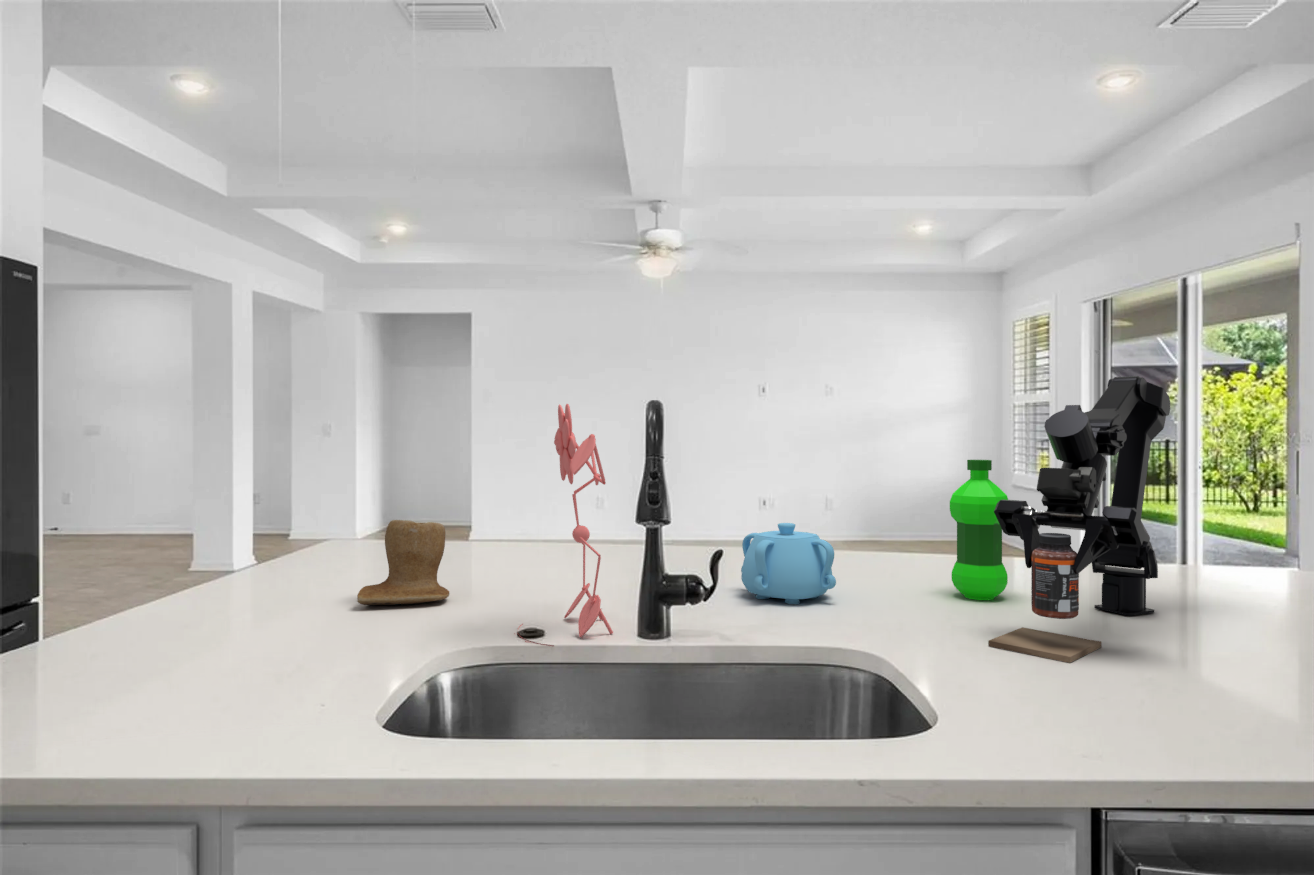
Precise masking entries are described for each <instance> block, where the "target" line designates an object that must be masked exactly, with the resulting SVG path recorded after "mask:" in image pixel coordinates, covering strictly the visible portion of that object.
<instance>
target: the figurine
mask: <svg viewBox="0 0 1314 875" xmlns="http://www.w3.org/2000/svg"><path fill="white" fill-rule="evenodd" d="M557 417H558V418H557V420H558V428H557V430H556V432H555V435H554V441H553V444H554V446H555V449H556V453H557V454H558V456H559V469H560V470H559V471H560V472H559V473H560V478H561V480H562V481H563V482H564V481H565V480H566V478H568V483H569V484H570V485H573V483H574V476H575V475H576V474H577V473H578V472H579V471H580V470H582V468H583V467H584V466H585V465H586V466H587V467H588V469H589V470H590V472H591V473H592V474H593V477H592V479H590V480H588V481H587V482H585V483H584V484H582V485H581V486H579V487H578V488H577V489H575V490H573V493H572V494H571V496H572V501H573V508H574V514H575V520H576V521H575V522H576V526H575V527H574V529H573V530H572V533H571V534H572V538H573V540H574V541H575V542H576V543H578V544H581V545H582V587H581V591H580V592H579V594H577V596H576V598H575V599H574V600H573V602H572V604H571V605H570V607H569V608H568V610H567V611H566V613H565V615H564V617H563V618H564V619H566V618H568V616H570V615H571V613H573V611H574V610H575V609H576V607H577V606H578V605H579V604H580V601H581V600H582V599H583V597H584V596H585V595H586V596H587V597H588V600H587V601H586V602H585V604H584V605H583V607H582V608H581V611H580V613H579V617H578V622H577V623H578V625H577V626H578V635H579V638H583V636H584V635H586V633H587V632H588V631H589V630H590V629H591V628H592V627H593V625H594V624H595V623H596V621H597V619H598V617H599V620H600V621H602V622H603V623H604V625H605V627H606V629H607V631H608V632H609V635H612V634H614V631H613V629H612V627H611V625H610V623H609V622H608V620H607V618H606V616H605V614H604V613H603V611H602V608H601V605H602V604H601V602H602V599H601V598H600V596H599V594H596V589H597V584H598V577H599V571H600V565H601V561H602V560H601V559H602V557H601V554H600V553H599V552H598V551H597V550H596V549H594V548H593V546H591V545H590V543H588V542H587V541H588V540H589V539H590V535H591V534H590V533H591V532H590V530H589V528H588V527H586V526H585V525H582V524H581V525H580V522H579V521H580V520H579V514H578V513H579V512H578V504H577V496H576V495H577V494H578V493H579V492H581V491H582V490H584V489H585V488H586V487H588V486H589V485H591V484H592V483H593V482H595V486H598V485H599V483H601V484H602V485H606V484H607V483H606V477H605V474H604V470H603V466H602V462H601V460H600V454H599V451H598V448H597V444H596V442H597V440H596V435H595V434H594V433H590V434H589V436H588V437H586V438H585V439H584V440H583V441H582V442H581V444H580V445H579V444H578V443H577V439H576V435H575V434H574V432H573V423H572V422H573V419H572V418H573V417H572V411H571V406H570V405H569V403H566V404H565V407H564V408H563V406H562V405H561V404H559V403H558V407H557ZM590 458H591V463H592V464H591V463H590V461H589V459H590ZM596 463H597V464H596ZM596 465H597V466H596ZM597 468H598V471H599V472H598V471H597ZM586 546H587V547H588V549H590V550H591V551H592V552H593V553H594V554H595V555H596V556H597V563H596V569H595V570H596V571H595V576H594V577H595V578H594V586H593V591H592V594H591V593H590V591H589V588H590V586H591V583H590V582H587V583H586ZM521 626H524V623H522V624H520V625H519V626H518V628H517V635H518V637H520V639H522V640H525V641H524V643H530V644H532V643H533V644H536V645H542V646H548V647H555V645H553V644H545V643H540V642H535V641H532V640H528V639H527V638H524V637H522V636H521V635H520V634H519V633H518V630H519V628H521ZM513 634H514V635H516V633H515V632H513Z"/></svg>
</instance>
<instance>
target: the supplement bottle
mask: <svg viewBox="0 0 1314 875" xmlns="http://www.w3.org/2000/svg"><path fill="white" fill-rule="evenodd" d="M1039 543H1040V546H1039V547H1038V548H1036V549H1034V550H1033V552H1032V562H1031V564H1032V566H1031V568H1030V569H1031V571H1030V572H1031V586H1030V588H1031V592H1030V593H1031V595H1030V596H1031V597H1030V598H1031V600H1030V601H1031V611H1032V613H1034V614H1035V615H1038V616H1039V617H1042V618H1043V617H1044V618H1047V619H1048V618H1049V619H1059V620H1070V619H1074V618H1076V617H1077V616H1079V610H1080V608H1079V606H1080V597H1079V596H1080V593H1079V592H1080V588H1079V586H1080V584H1079V583H1080V579H1079V578H1080V573H1078V574H1075V573H1074V571H1073V567H1074V562H1075V559H1076V556H1077V553H1078V552H1077V551H1075V550H1074V549H1073V548H1072V546H1071V545H1072V536H1071V535H1070V534H1067V533H1059V532H1057V533H1056V532H1041V533H1039Z"/></svg>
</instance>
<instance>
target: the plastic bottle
mask: <svg viewBox="0 0 1314 875" xmlns="http://www.w3.org/2000/svg"><path fill="white" fill-rule="evenodd" d="M992 462H993V460H992V459H967V461H966V465H967V467H966V468H967V471H969V472H970V475H969V476H970V477H969V479H968V480H967V481H966V482H964V483H963V484H962V485H960V486H959V487H957V489H956V490H955V491H954V492H953V493H952V495H951V498H950V500H949V512H950V516H951V517H952V519H954V521H955V522H956V560H955V562H954V565H953V567H952V570H951V581H952V584H953V586H954V588H955V589H956V590H957V591H958V592H959V593H960V594H961V595H964V596H963V597H964V598H966V599H969V600H975V601H993V600H995V598H996V597H998V596H999V595H1000V594H1002V593H1003V592H1004V591H1005V590H1006V587H1007V585H1008V583H1009V582H1008V578H1009V577H1008V572H1007V570H1006V566H1005V565H1004V563H1003V530H1002V528H1001V526H1000V524H999V522H998V520H997V517H996V515H995V513H994V510H995V507H996V505H997V503H998V502H999V501H1000V500H1009V498H1008V495H1007V494H1006V493H1005V492H1004V490H1002V489H1001V488H1000V487H999V486H998V485H997V484H995V483H994V482H993V481H992V480H991V479H990V478H989V471H992V468H993V467H992V465H993V464H992Z"/></svg>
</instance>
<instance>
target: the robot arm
mask: <svg viewBox="0 0 1314 875" xmlns="http://www.w3.org/2000/svg"><path fill="white" fill-rule="evenodd" d="M1170 412H1171V398H1170V397H1169V394H1168V393H1167V392H1166V390H1165V389H1164V388H1163V387H1161V386H1159V385H1157V384H1153V383H1151V382H1148V381H1147V380H1146V379H1145V377H1143V376H1142V377H1141V376H1140V375H1135V376H1134V375H1133V376H1132V375H1131V376H1129V375H1128V376H1114V377H1113V378H1109V379H1108V382H1107V388H1106V390H1104V392H1103V393H1102V395H1101V396H1100V397H1099V399H1098V401H1097V402H1096V403H1095V404H1094V405H1093V407H1092V408H1091V409H1090V410H1089V411H1088V410H1087V411H1086V412H1084V411H1083V409H1082V407H1081V405H1080V404H1069V405H1068V404H1065V406H1064V409H1063V410H1060V411H1057V412H1055V413H1054V414H1052V415H1051V416H1050V417H1048V418H1046V420H1045V422H1044V430H1045V433H1046V435H1047V437H1048V440H1049V442H1050V446H1051V449H1052V450H1053V454H1054V456H1055V459H1057V460H1058V461H1061V462H1062V465H1061V467H1060V468H1059V467H1058V468H1057V467H1041V468H1039V473H1038V478H1037V484H1036V491H1037V492H1039V493H1040V494H1042V498H1041V504H1042V505H1043V507H1047V509H1046V510H1040V509H1039V510H1038V509H1035V508H1034V507H1032V506H1029V504H1028V502H1027V500H1015V499H1008V500H1000V501H999V502H998V503H997V505H996V507H995V510H994V513H995V515H996V517H997V520H998V522H999V524H1000V526H1001V528H1002V533H1003V534H1005V535H1007V536H1011V537H1019V538H1020V540H1022V541H1023V550H1024V562H1025V566H1026V569H1031V567H1032V564H1031V562H1032V552H1033V550H1034V549H1036V548H1038V547H1039V546H1040V543H1039V534H1040V531H1039V529H1040V527H1041V526H1045V527H1050V528H1052V529H1062V530H1063V529H1064V530H1075V531H1077V530H1078V531H1084V534H1083V535H1084V536H1083V539H1082V541H1081V543H1080V547H1079V548H1078V552H1076V553H1077V556H1076V559H1075V562H1074V567H1073V571H1074V573H1075V574H1078V573H1079V574H1080V573H1081V572H1082V571H1083V570H1084V569H1085V568H1087V567H1088V566H1089V565H1091V568H1092V573H1093V574H1102V583H1101V604H1094V609H1098V610H1101V611H1106V612H1110V613H1115V614H1117V615H1118V614H1119V615H1123V616H1129V617H1130V616H1131V617H1132V616H1138V615H1146V614H1147V615H1148V614H1153V613H1155V608H1154V609H1153V608H1150V607H1147V580H1150V579H1158V578H1159V569H1158V568H1159V567H1158V561H1157V558H1156V557H1157V556H1156V552H1155V550H1154V549H1153V546H1152V545H1153V544H1152V542H1151V541H1150V540H1151V538H1150V537H1151V536H1150V534H1149V532H1148V531H1147V529H1146V527H1145V525H1144V524H1143V522H1142V515H1143V514H1142V513H1143V506H1144V497H1145V491H1146V483H1147V474H1148V469H1149V468H1148V467H1149V460H1150V453H1151V452H1150V451H1151V444H1152V441H1153V440H1154V439H1155V438H1156V437H1157V436H1158V435H1159V433H1161V432H1162V431H1163V430H1164V428H1165V423H1166V420H1167V419H1166V418H1167V417H1168V416H1170ZM1117 454H1118V455H1117ZM1116 455H1117V461H1116V466H1115V475H1114V483H1113V489H1112V496H1111V503H1110V505H1106V506H1103V510H1102V515H1093V513H1094V509H1098V507H1099V506H1100V502H1099V499H1098V497H1099V493H1100V490H1101V487H1102V483H1103V482H1106V480H1107V474H1106V470H1107V467H1108V461H1107V459H1106V458H1105V457H1104V456H1108V457H1109V456H1113V457H1115V456H1116Z"/></svg>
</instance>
